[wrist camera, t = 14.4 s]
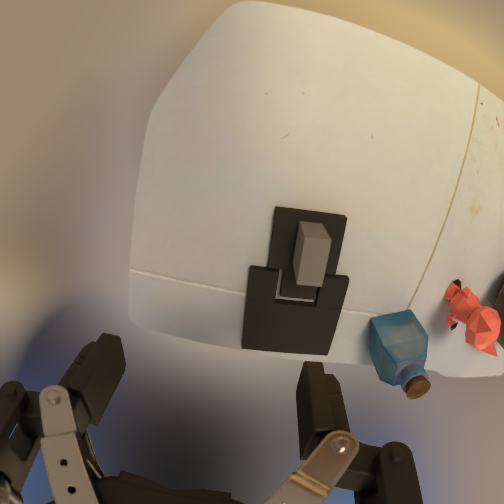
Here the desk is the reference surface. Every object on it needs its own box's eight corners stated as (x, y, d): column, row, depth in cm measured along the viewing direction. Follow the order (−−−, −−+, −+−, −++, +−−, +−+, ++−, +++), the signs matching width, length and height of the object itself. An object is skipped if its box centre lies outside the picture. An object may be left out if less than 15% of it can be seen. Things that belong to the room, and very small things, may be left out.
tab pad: (264, 290, 37) (263, 320, 31) (275, 206, 33) (277, 223, 27) (327, 296, 37) (336, 326, 31) (344, 215, 33) (360, 233, 27)
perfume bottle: (368, 351, 40) (391, 412, 29) (370, 317, 38) (398, 379, 27) (406, 342, 40) (435, 399, 29) (410, 309, 37) (446, 365, 26)
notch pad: (242, 343, 41) (241, 348, 40) (250, 265, 36) (249, 269, 35) (326, 350, 40) (327, 355, 39) (347, 275, 36) (349, 279, 35)
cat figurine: (475, 297, 36) (516, 342, 25) (442, 324, 38) (478, 375, 27) (463, 265, 35) (511, 309, 23) (428, 294, 36) (469, 346, 25)
